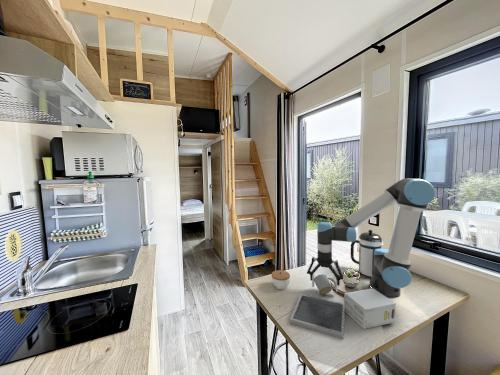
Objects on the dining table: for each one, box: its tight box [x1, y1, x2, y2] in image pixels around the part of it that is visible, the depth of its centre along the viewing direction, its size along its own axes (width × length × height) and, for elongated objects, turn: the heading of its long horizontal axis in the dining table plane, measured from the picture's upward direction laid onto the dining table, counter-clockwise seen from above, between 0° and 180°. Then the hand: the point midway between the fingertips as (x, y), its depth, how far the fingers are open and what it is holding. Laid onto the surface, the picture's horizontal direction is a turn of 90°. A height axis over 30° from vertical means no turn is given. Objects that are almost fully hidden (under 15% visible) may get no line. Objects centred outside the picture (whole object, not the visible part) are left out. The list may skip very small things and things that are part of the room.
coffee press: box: [350, 229, 384, 278], centre depth 139 cm, size 17×16×30 cm
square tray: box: [289, 293, 346, 340], centre depth 101 cm, size 22×22×2 cm
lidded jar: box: [271, 269, 291, 290], centre depth 127 cm, size 11×11×9 cm
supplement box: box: [343, 288, 396, 330], centre depth 100 cm, size 17×13×9 cm
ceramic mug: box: [314, 273, 336, 295], centre depth 119 cm, size 11×8×8 cm
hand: (324, 288), depth 120 cm, fingers closed on ceramic mug, 12 cm apart
